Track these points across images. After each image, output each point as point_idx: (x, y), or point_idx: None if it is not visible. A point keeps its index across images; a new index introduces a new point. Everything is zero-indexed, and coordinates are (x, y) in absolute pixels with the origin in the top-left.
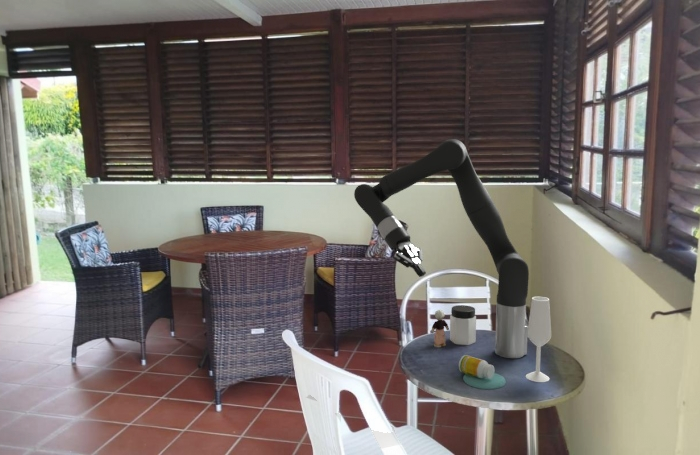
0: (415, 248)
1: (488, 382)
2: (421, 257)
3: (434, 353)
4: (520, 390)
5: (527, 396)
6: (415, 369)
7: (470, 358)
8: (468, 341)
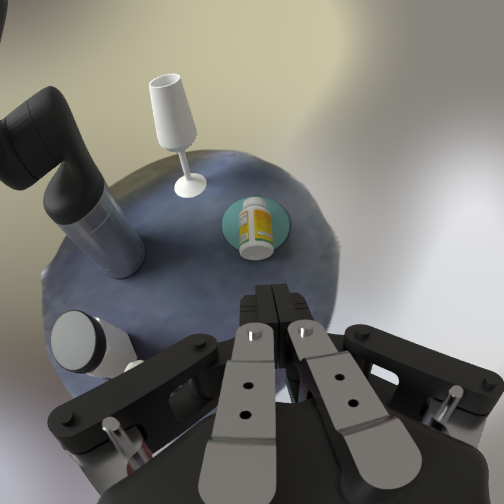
0: (104, 475)
1: None
2: (178, 354)
3: None
4: (247, 179)
5: (257, 168)
6: None
7: (260, 228)
8: (123, 331)
